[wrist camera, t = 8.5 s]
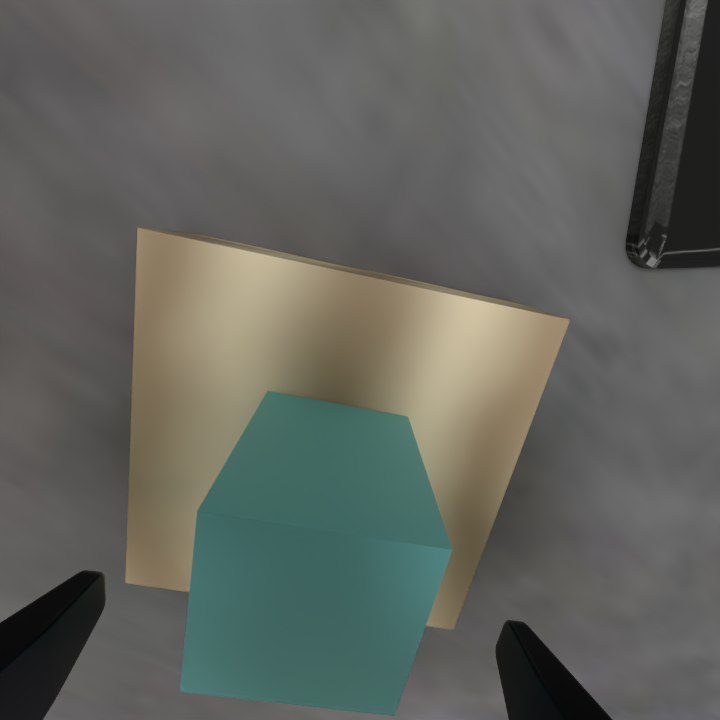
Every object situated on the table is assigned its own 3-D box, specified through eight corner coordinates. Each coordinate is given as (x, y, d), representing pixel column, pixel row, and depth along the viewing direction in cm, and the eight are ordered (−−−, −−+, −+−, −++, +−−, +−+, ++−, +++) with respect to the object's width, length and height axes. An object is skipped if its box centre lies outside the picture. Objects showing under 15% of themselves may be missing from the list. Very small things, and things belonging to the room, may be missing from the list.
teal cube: (250, 509, 14) (179, 691, 8) (267, 390, 13) (197, 510, 7) (377, 529, 14) (394, 716, 9) (407, 416, 13) (452, 550, 7)
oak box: (181, 502, 20) (125, 582, 15) (203, 234, 16) (137, 227, 11) (430, 542, 21) (453, 629, 16) (508, 300, 17) (570, 319, 12)
